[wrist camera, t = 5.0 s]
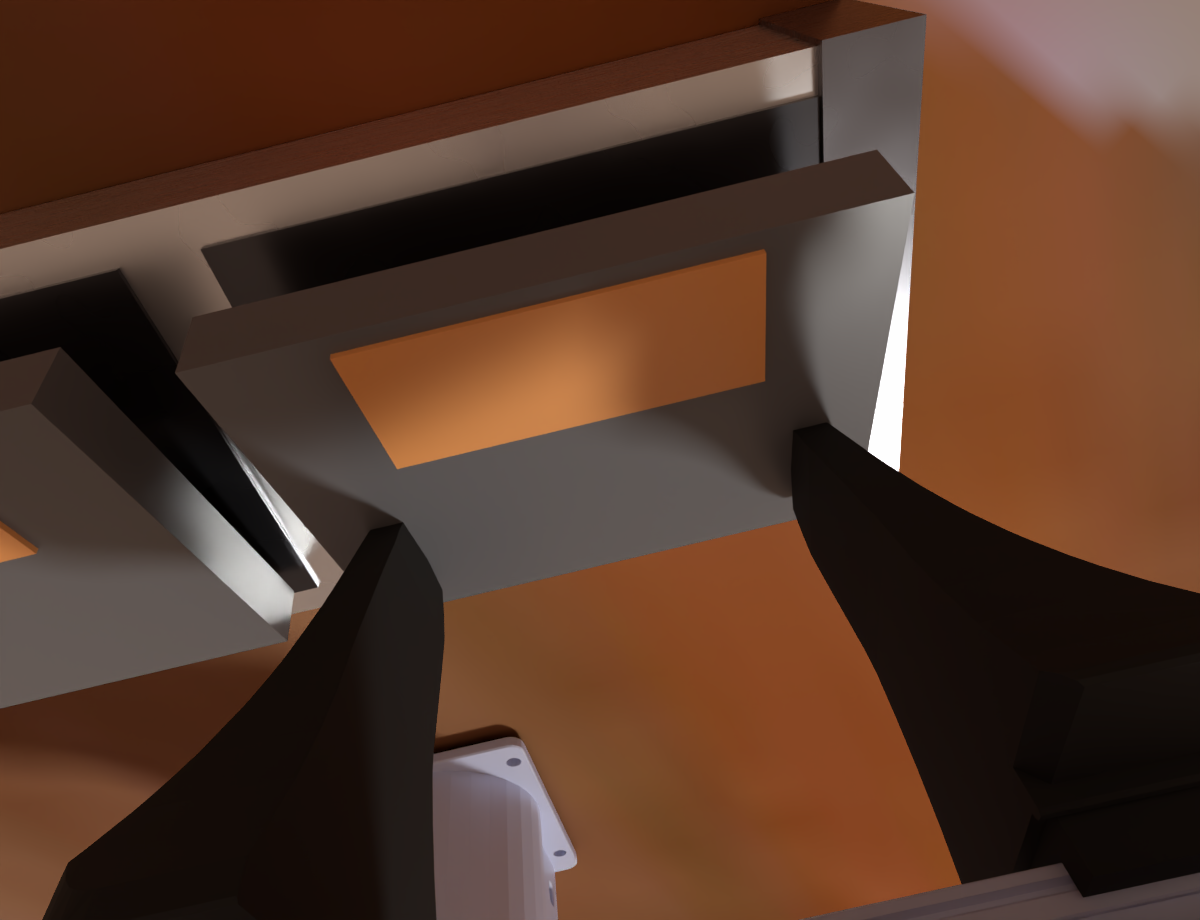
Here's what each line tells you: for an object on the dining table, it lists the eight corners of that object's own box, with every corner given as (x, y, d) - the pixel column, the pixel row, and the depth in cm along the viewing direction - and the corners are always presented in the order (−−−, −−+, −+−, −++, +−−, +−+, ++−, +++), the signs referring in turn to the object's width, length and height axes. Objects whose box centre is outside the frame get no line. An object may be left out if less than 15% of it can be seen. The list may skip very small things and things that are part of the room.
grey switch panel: (842, 406, 19) (898, 480, 16) (-496, 724, 20) (-644, 843, 17) (843, -3, 14) (926, 14, 11) (-1012, 461, 14) (-1339, 577, 12)
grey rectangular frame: (827, 443, 16) (860, 509, 15) (384, 548, 16) (381, 621, 15) (862, 133, 11) (917, 197, 9) (199, 296, 11) (173, 378, 10)
